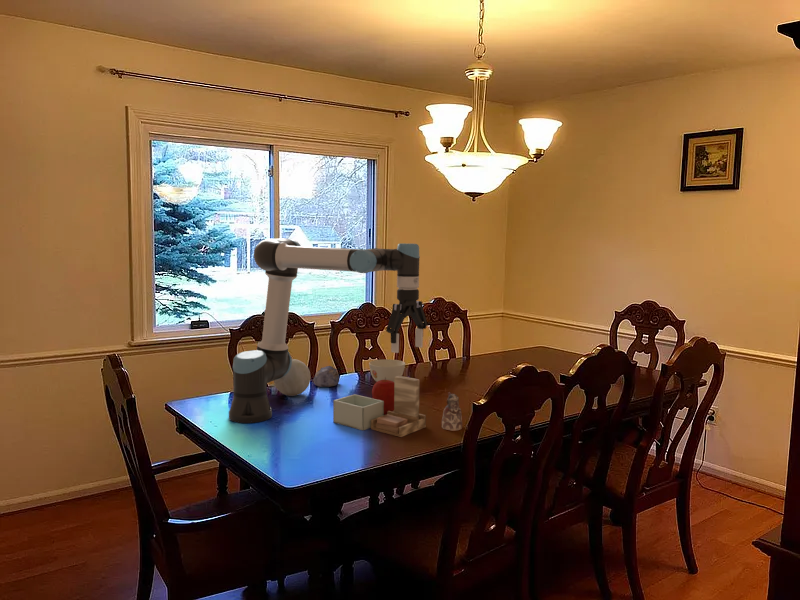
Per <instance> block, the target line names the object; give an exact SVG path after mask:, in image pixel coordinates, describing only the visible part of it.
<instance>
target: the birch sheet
mask: <svg viewBox="0 0 800 600" xmlns="http://www.w3.org/2000/svg"><path fill="white" fill-rule="evenodd" d="M393 412H396V413H401V414H405V415H409V416H413V417H417V418H419V414H420V379H418V378H414V377H408V376H403V375H402V376H396V377H395V386H394V411H393Z"/></svg>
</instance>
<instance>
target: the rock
mask: <svg viewBox="0 0 800 600" xmlns="http://www.w3.org/2000/svg"><path fill="white" fill-rule="evenodd" d="M312 381H313V383H314V386H317V387H319V388H324V387H326V388H327V387H328V388H329V387H335V386H337V385H338V384H339V382H340V375H339V372H338V369H337V368H334V367H333V366H331V365H328V366H324V367H321V368H320V369H319V370H317V372H315V375H314V377H313V379H312Z"/></svg>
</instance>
